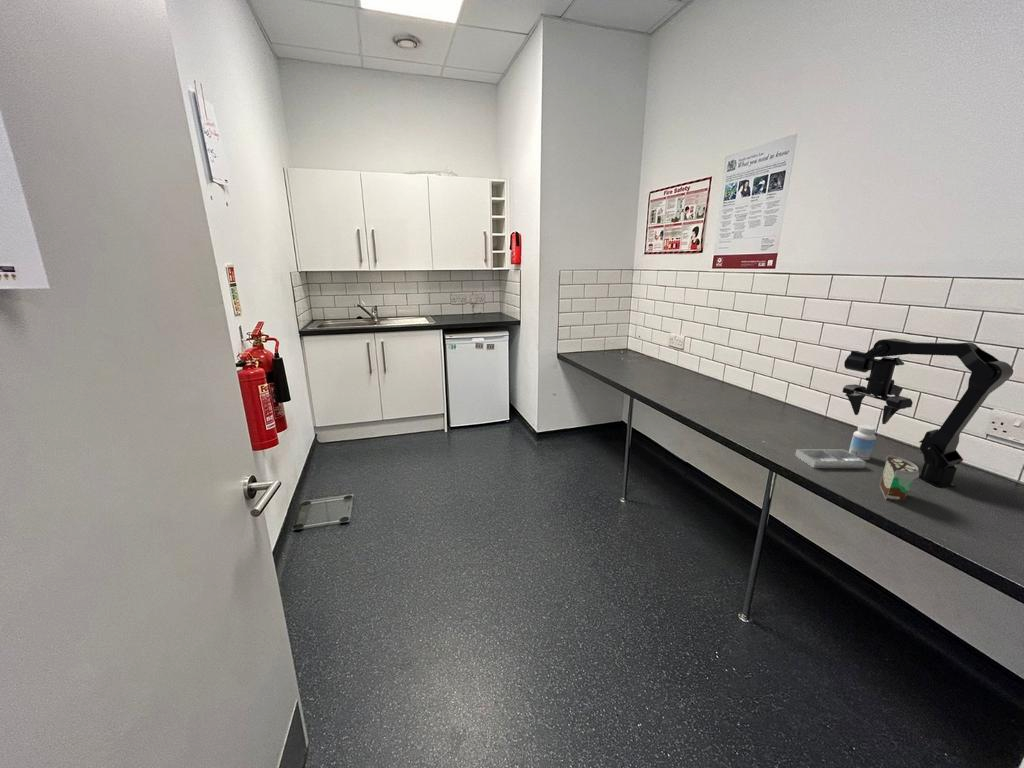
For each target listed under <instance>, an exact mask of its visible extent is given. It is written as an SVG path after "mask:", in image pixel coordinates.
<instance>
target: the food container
mask: <svg viewBox="0 0 1024 768" xmlns="http://www.w3.org/2000/svg"><path fill="white" fill-rule="evenodd" d="M919 475H920V470H919V466H917V465H916V464H915V463H913V462H911V461H909V460H907V459H905V458H902V457H898V456H896V455H892V454H891V455H890V454H887V456H886V459H885V464H884V468H883V472H882V475H881V478H880V481H879V488H880V490H881V492H882V494H883V497H884V499H885V501H889V502H896V501H900V502H904V501H905V500H906V498H907V496H908V493H909V492H910V489H911V487H912V485H913V483H914V480H915V479H919Z"/></svg>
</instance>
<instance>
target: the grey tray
mask: <svg viewBox="0 0 1024 768" xmlns="http://www.w3.org/2000/svg"><path fill="white" fill-rule="evenodd" d="M794 456H795V458H798V459H799V460H800V459H801V460H800V461H802V462H803V461H804V463H805V464H806V463H807V465H808V466H809V465H810V466H809V467H811V468H812V467H813V469H864V468H865V466H866V461H867V460H862V459H861V458H859V457H857V456H855V455H853V454H852V453H850V452H849V450H846V449H842V448H840V449H833V448H831V449H828V448H827V449H826V448H824V449H820V448H819V449H812V448H811V449H808V448H806V449H804V448H803V449H800V448H798V449H796V450H795V455H794Z"/></svg>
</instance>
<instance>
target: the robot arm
mask: <svg viewBox="0 0 1024 768" xmlns="http://www.w3.org/2000/svg"><path fill="white" fill-rule="evenodd" d="M903 355H918V356H919V355H921V356H923V355H925V356H949V357H950V356H951V357H953V356H954V357H957V358H958V359H959V360H960V361H961V363H962V364H963V365H964V367H965V368H966V369H968V371H970V372H971V373H970V375H969V378H968V383H967V389H966V391H965V392H964V394H963V395H962V396H961V398H960V399H959V400H958V402H957V403H956V405H955V407H954V408H953V409H952V411H951V412H950V414H949V415H948V416H947V418H946V419H945V421H944V422H943V423H942V425H941V426H940V428H937V429H933V430H928V431H926V433H925V435H924V436H923V438H922V440H920V441H918V443H920V445H919V450H920V452H921V453H922V454H923V460H924V463H923V466H922V469H921V471H920V474H919V477H918V479H921V480H923V481H925V482H926V483H928V484H930V485H932V486H934V487H956V486H957V485H956V484H955V483H953V481H954V477H955V475H956V472H957V470H958V468H957V467H955V466H958V465H960V464H961V463H962V462H964V459H963V457H962V456H961V455H960V453H959V452H958V450H957V448H958V445H959V443H960V436H961V435H960V434H961V433H962V431H963V430H964V429H965V428H966V426H967V425H968V424H969V422H970V421H971V419H972V418H973V417H974V416H975V414H976V412H977V411H978V410H979V409H980V407H981V406H982V404H983V403H984V402H985V401H986V399H987V398H988V396H989V395H991V393H992V392H995V390H997V389H998V388H1000V387H1001V386H1003V384H1005V382H1007V381H1008V380H1009V379H1010V378H1011V377H1012V376H1013V375H1014V369H1013V367H1012V365H1010V364H1009V363H1008V362H1006V361H1002V360H999V359H998V358H996V356H994V355H992V354H991V353H988V352H987V351H985V350H984V349H982V348H981V347H980V346H978V345H977V344H975V343H974V342H970V341H969V342H968V341H967V342H919V341H911V340H906V339H901V338H884V339H879V340H877V341H876V342H875V343H874V344H873V347H872V348H870V349H869V350H868V351H866V352H862V351H859V350H851V351H850V354H849V355H847V357H846V359H845V360H844V369H845V370H851V371H855V372H859V373H868V372H869V371H870V372H869V373H870V374H869V376H868V377H867V376H866V377H865V381H867V385H866V386H864V385H859V384H855V383H854V384H846V385H844V386H843V387H842V391H841V392H842V393H844V394H845V397H847V399H848V400H849V402H850V406H851V408H852V411H853V413H854V415H855V416H859V413H860V411H861V406H862V402H863V399H865V397H870V398H872V399H877V400H880V401H884V402H885V403H886V405H884V406H883V410H882V411H883V412H882V418H881V419H882V420H881V421H882V425H886V424H887V423H888V422H889V421H890V419H891V418H892V417H893V416H894V415H895V414H896V413H897V412H899V410H905V409H907V408H912V406H913V404H914V403H913V402H914V401H913V400H912V398H910V397H905V396H901V393H902V391H903V389H904V387H901V386H898V385H897V384H895V380H894V379H893V376H894V372H895V367H897V366H899V367H900V366H904V365H905V363H904V361H902V360H901V358H900V356H903ZM894 356H895V357H894ZM896 356H899V357H896ZM888 357H893V358H888Z"/></svg>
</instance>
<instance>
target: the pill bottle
mask: <svg viewBox="0 0 1024 768" xmlns="http://www.w3.org/2000/svg"><path fill="white" fill-rule="evenodd" d="M876 430H877V429H876V427H875V426H872V425H869V424H858V427H857V430H856V431H854V432H853V434H852V438H851V442H850V446H849V450H848V452H850V453H852V454H853V455H855V456H857V457H859V458H861V459H862V460H864V461H869V460H871V458H872V455H873V451H874V449H875V443H876V440H877V436H876V434H875V433H876Z"/></svg>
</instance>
